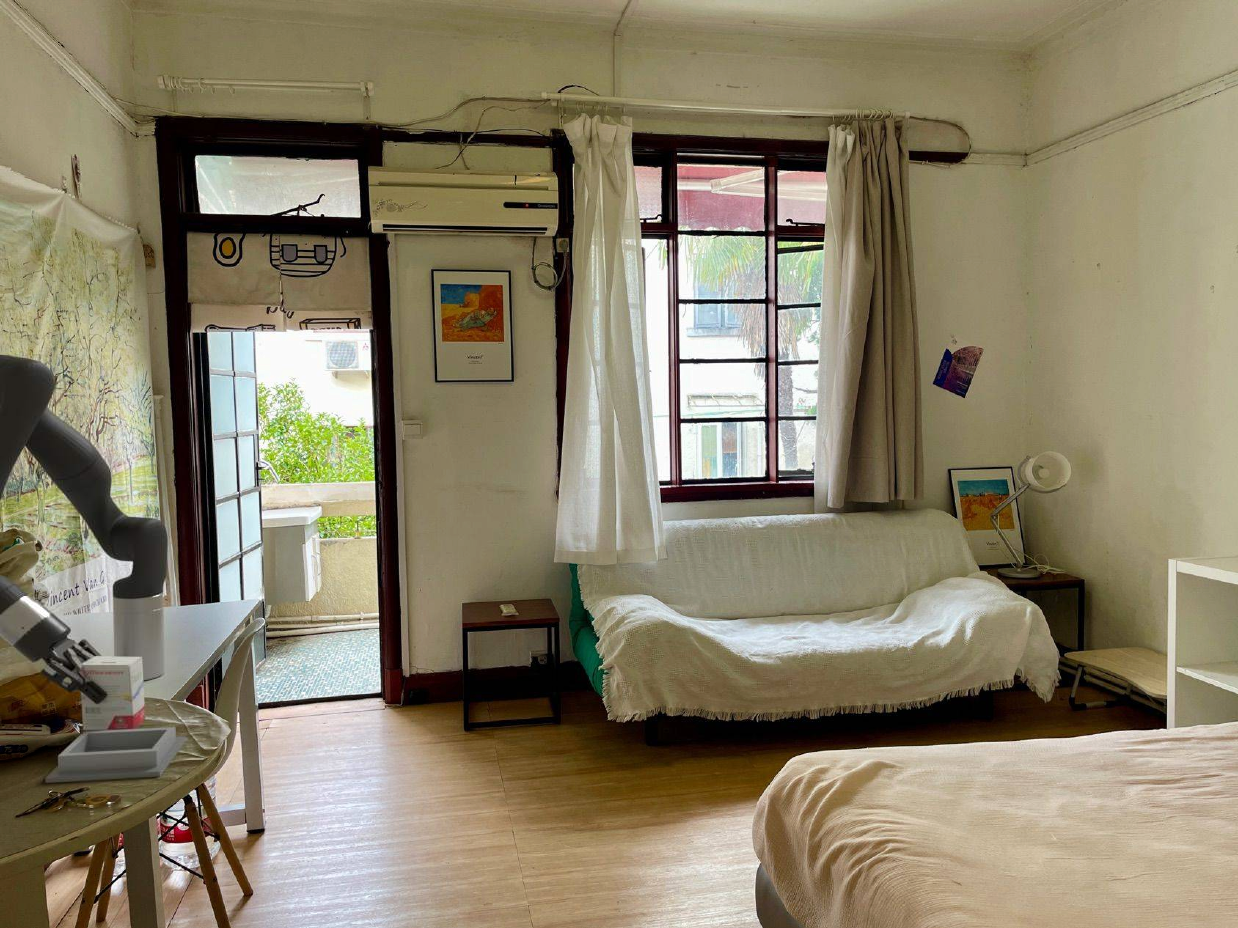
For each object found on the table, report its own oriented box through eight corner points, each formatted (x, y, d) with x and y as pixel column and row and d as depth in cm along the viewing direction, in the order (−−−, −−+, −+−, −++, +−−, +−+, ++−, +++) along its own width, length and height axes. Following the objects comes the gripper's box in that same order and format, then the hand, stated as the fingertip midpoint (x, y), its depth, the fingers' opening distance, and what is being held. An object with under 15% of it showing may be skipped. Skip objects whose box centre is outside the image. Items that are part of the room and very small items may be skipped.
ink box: (146, 720, 156) (145, 655, 155) (132, 731, 151) (130, 664, 150) (96, 719, 156) (94, 654, 154) (80, 731, 151) (78, 664, 149)
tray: (82, 746, 147) (82, 727, 147) (185, 741, 150) (185, 722, 150) (45, 782, 133) (45, 761, 133) (159, 776, 136) (159, 755, 136)
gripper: (28, 623, 143) (110, 692, 146) (66, 602, 157) (140, 665, 160) (-7, 656, 142) (76, 725, 146) (33, 632, 156) (109, 694, 160)
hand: (109, 693), depth 153 cm, fingers closed on ink box, 5 cm apart
